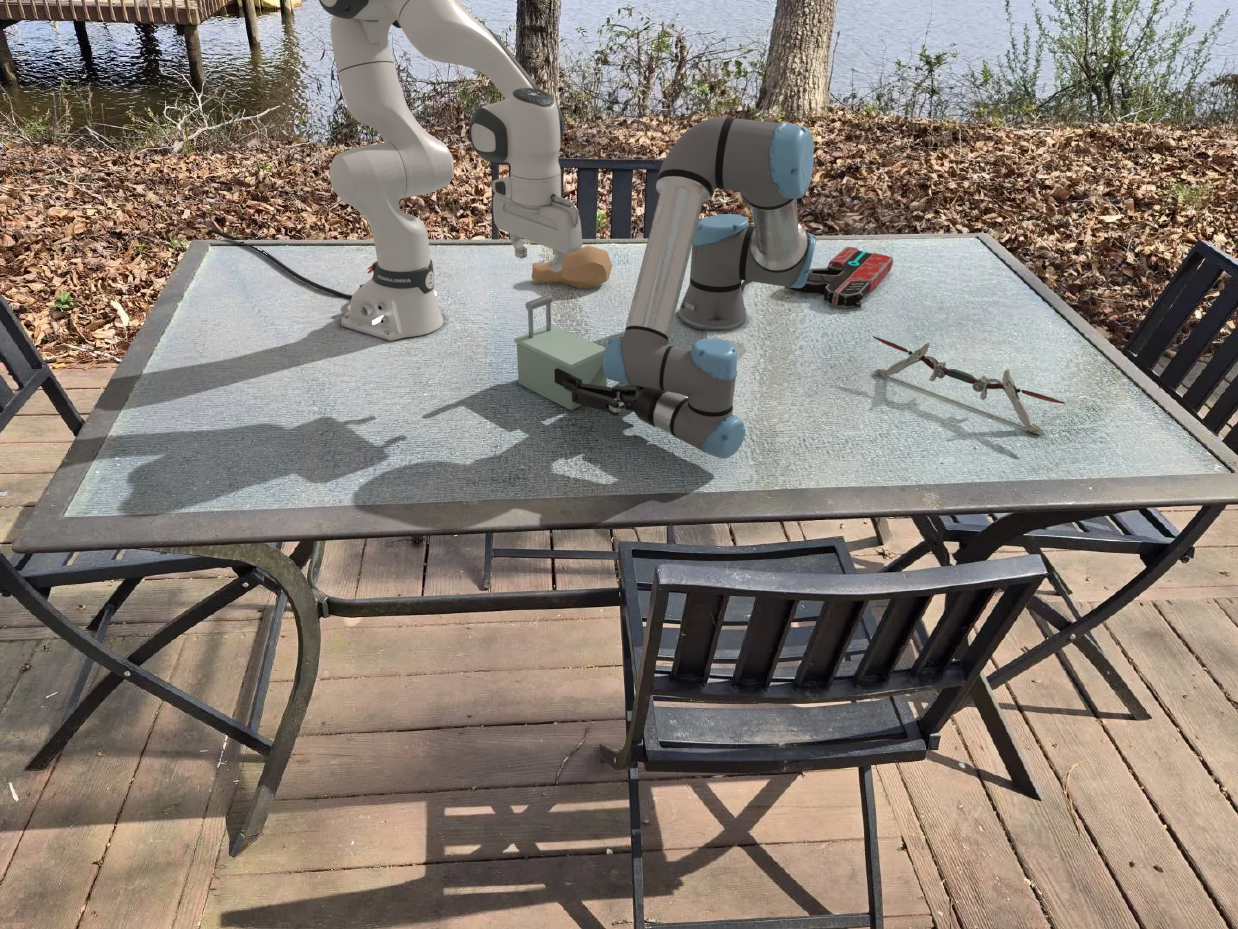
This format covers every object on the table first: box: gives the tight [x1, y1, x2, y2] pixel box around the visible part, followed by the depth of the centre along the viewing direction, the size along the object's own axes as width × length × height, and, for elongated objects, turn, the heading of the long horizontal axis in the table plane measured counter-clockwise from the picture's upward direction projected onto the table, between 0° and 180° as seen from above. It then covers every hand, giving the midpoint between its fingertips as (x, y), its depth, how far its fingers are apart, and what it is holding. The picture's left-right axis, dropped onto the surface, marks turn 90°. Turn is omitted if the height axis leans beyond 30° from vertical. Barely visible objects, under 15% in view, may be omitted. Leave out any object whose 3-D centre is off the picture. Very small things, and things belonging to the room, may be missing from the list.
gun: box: [784, 246, 894, 309], centre depth 220 cm, size 4×31×19 cm
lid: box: [514, 293, 606, 369], centre depth 166 cm, size 16×10×8 cm, turn 47°
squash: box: [531, 245, 613, 289], centre depth 215 cm, size 11×20×9 cm, turn 90°
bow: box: [872, 335, 1066, 435], centre depth 169 cm, size 39×2×10 cm, turn 47°
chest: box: [516, 343, 608, 411], centre depth 170 cm, size 15×10×9 cm, turn 47°
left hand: (538, 263), depth 163 cm, fingers open, 8 cm apart
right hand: (575, 366), depth 167 cm, fingers closed on chest, 10 cm apart
